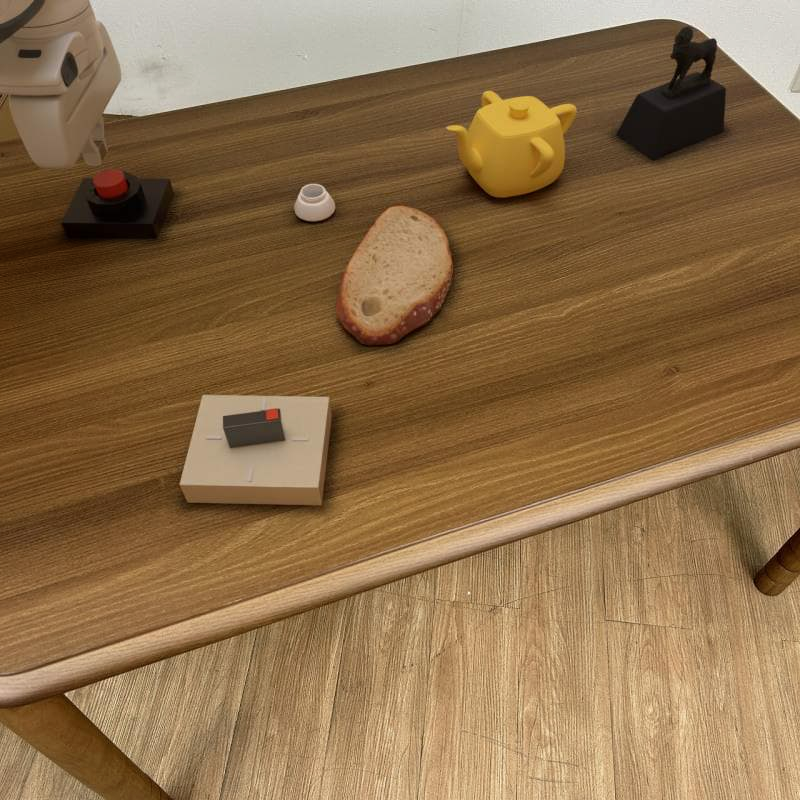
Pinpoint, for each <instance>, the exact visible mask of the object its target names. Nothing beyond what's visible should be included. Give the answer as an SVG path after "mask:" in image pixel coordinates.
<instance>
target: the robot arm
mask: <svg viewBox="0 0 800 800" xmlns="http://www.w3.org/2000/svg"><path fill="white" fill-rule="evenodd" d="M121 81H122V69H121V64H120V62H119V59H118V56H117V53H116V51H115V47H114V44H113V42H112V38H111V37H110V34H109V32H108V30H107V28H106V27H105V25H104V24H103V22H101V21H99V20H97V19H96V15H95V12H94V9H93V8H92V5H91V2H90V0H0V94H1V95H9V98H8V105H9V112H10V115H11V118H12V120H13V123H14V125H15V127H16V131H17V133H18V134H19V137H20V139H21V141H22V143H23V145H24V147H25V149H26V152H27V153H28V155H29V157H30V159H31V160H32V162H33V163H34V164H35V165H36V166H38V167H39V168H41V169H42V170H50V171H51V170H54V171H63V170H64V171H66V170H71V169H73V168H74V167H75V166H76V163H77V161H78V159H79V157H80V156H82V158H83V160H84V163H85V164H86V165H87V166H89V167H100V166H101V165H102V162H103V161H104V159H105V157H106V155H107V153H108V151H109V148H108V144H107V141H106V140H105V120H104V117H103V114H104V112H105V110H106V108H107V106H108V105H109V103H110V101H111V99H112V97H113V96H114V94H115V92H116V91H117V88H118V86H119V85H120V83H121Z"/></svg>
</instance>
